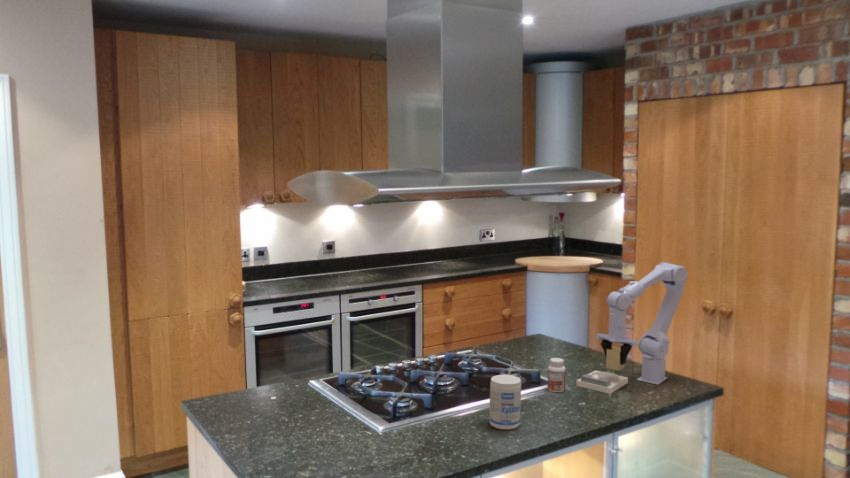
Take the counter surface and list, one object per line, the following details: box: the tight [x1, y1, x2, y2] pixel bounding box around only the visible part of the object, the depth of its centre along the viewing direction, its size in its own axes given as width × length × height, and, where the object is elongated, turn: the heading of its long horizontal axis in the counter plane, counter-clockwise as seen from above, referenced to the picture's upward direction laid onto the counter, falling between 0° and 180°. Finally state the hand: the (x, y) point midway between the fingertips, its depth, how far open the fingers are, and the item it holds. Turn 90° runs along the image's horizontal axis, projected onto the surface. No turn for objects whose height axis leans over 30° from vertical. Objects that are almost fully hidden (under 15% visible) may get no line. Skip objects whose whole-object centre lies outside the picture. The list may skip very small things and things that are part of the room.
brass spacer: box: [605, 345, 626, 371], centre depth 252 cm, size 5×5×7 cm
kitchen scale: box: [576, 369, 629, 395], centre depth 255 cm, size 15×13×5 cm
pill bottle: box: [547, 357, 567, 393], centre depth 249 cm, size 6×6×11 cm
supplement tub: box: [488, 374, 522, 431], centre depth 218 cm, size 10×10×15 cm
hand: (615, 362), depth 252 cm, fingers closed on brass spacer, 5 cm apart
